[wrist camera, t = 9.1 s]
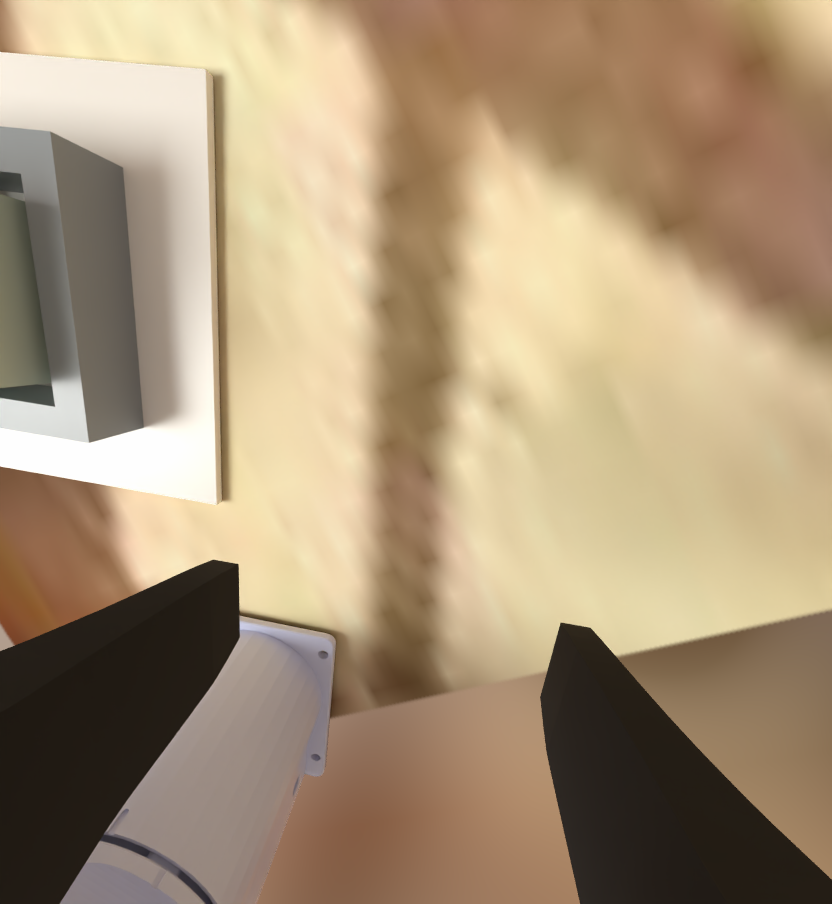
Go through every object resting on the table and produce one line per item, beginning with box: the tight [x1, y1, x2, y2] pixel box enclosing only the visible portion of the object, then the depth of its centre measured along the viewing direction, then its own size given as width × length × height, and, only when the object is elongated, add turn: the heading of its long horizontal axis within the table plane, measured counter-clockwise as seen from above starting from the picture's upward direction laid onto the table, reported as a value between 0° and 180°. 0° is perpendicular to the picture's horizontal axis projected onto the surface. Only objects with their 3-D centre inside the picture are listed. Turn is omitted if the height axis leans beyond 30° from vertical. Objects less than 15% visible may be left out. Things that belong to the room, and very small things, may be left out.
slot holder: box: [0, 52, 222, 505], centre depth 15 cm, size 16×14×3 cm
